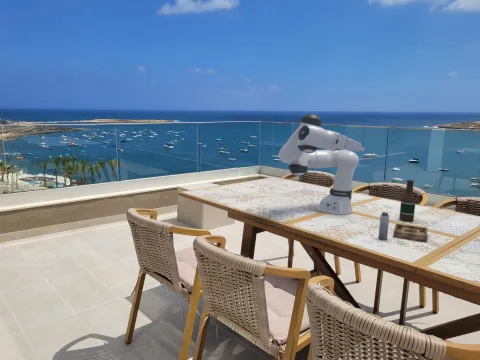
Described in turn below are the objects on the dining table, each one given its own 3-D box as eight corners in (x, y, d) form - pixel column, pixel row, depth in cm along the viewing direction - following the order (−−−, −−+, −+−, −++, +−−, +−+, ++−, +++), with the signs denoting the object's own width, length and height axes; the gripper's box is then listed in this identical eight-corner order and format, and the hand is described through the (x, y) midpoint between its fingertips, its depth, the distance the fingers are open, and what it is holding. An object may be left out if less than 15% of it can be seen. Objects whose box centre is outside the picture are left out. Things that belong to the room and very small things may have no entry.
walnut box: (393, 237, 182) (393, 230, 181) (395, 229, 195) (395, 223, 194) (426, 242, 175) (427, 235, 175) (426, 233, 189) (427, 227, 188)
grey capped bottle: (377, 239, 178) (380, 213, 176) (378, 236, 182) (381, 211, 179) (386, 240, 176) (389, 214, 174) (387, 238, 180) (389, 212, 178)
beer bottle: (412, 219, 216) (416, 179, 212) (414, 222, 208) (419, 181, 204) (398, 217, 218) (402, 178, 214) (400, 221, 210) (404, 180, 206)
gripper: (320, 146, 177) (344, 153, 181) (342, 149, 158) (368, 157, 162) (323, 133, 177) (347, 140, 181) (346, 135, 157) (372, 143, 161)
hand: (357, 148), depth 171 cm, fingers open, 8 cm apart
